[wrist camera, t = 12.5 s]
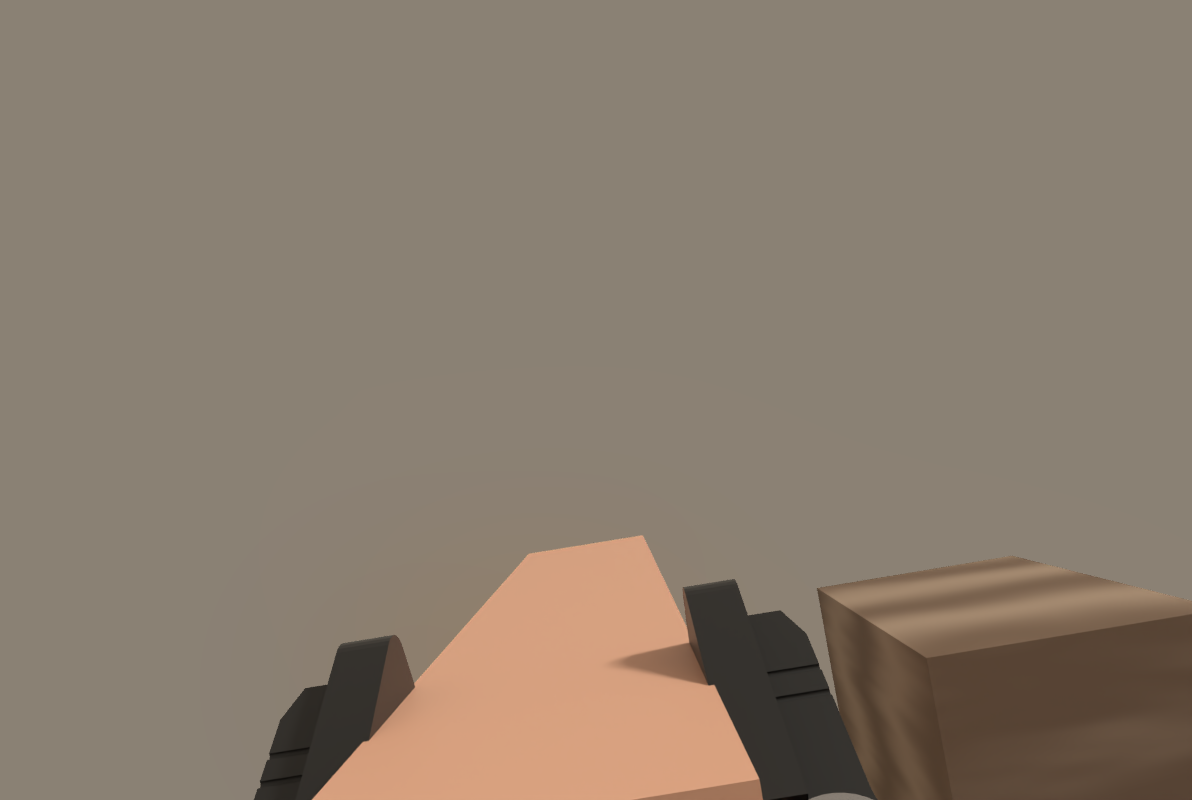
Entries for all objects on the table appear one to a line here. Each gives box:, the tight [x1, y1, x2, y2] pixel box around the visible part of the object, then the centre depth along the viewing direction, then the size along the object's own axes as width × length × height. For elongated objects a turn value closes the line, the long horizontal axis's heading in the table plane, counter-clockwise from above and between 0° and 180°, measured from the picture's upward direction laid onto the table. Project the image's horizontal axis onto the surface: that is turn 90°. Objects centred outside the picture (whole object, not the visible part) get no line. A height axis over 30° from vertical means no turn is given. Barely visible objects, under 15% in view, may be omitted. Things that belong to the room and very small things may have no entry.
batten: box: [312, 536, 763, 800], centre depth 19 cm, size 24×4×3 cm, turn 179°
